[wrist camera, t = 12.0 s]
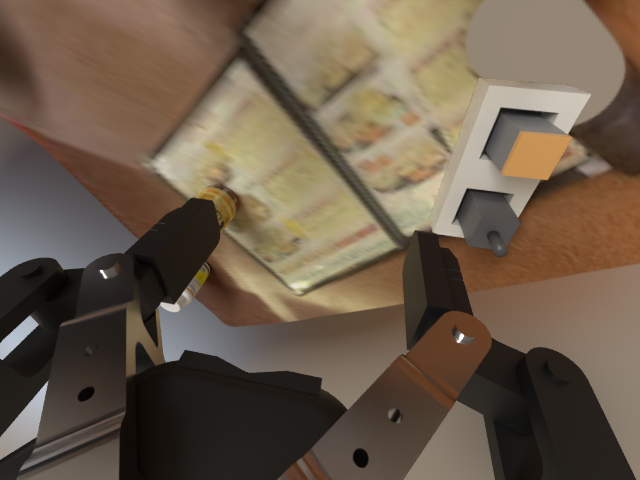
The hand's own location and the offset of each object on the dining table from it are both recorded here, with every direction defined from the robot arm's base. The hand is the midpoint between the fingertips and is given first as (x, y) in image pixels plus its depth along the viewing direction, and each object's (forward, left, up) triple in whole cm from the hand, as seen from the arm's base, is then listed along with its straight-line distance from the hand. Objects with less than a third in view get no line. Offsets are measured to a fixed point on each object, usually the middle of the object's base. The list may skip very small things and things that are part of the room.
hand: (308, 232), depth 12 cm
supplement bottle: (+35, -28, -28) cm, 53 cm away
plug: (+3, +17, -27) cm, 32 cm away
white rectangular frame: (+7, +17, -28) cm, 34 cm away
